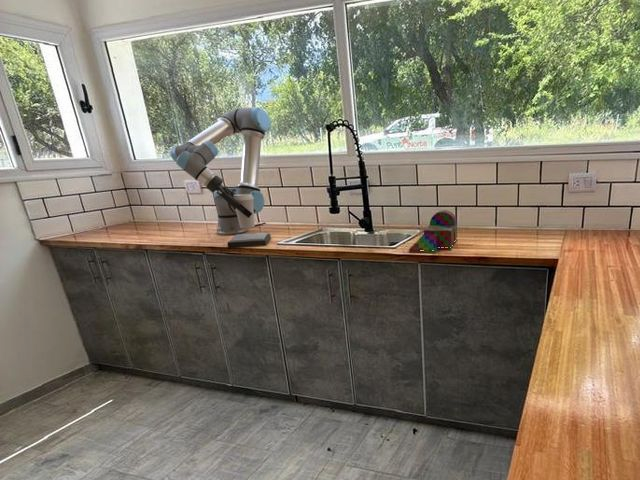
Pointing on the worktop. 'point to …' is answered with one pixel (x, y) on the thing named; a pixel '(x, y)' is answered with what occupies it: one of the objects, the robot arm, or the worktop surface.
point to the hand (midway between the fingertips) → (252, 214)
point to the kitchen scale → (249, 240)
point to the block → (437, 234)
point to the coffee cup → (248, 204)
